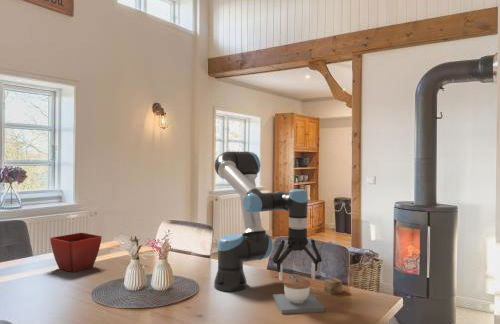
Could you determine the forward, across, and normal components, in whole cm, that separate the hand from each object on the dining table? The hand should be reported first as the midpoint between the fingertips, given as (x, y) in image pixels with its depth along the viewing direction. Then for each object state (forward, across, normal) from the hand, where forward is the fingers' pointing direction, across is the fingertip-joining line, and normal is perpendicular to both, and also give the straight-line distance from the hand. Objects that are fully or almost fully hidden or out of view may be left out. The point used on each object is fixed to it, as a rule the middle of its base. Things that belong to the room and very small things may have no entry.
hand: (296, 279), depth 157 cm
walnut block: (+10, +20, +12) cm, 26 cm away
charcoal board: (+10, 0, -1) cm, 10 cm away
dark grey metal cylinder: (+10, +3, +14) cm, 18 cm away
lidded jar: (+9, 0, -1) cm, 9 cm away
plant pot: (+12, -105, +66) cm, 125 cm away
